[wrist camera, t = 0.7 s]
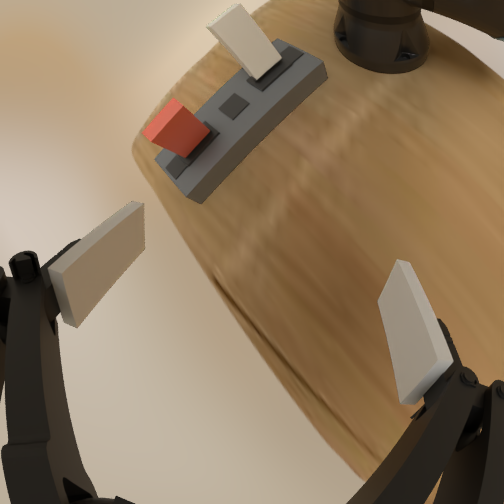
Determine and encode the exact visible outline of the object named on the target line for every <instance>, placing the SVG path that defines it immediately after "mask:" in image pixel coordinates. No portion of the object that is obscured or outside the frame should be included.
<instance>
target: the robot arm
mask: <svg viewBox="0 0 504 504" xmlns="http://www.w3.org/2000/svg"><path fill="white" fill-rule="evenodd" d="M338 1H339V7H338V11H337V15H336V19H335V23H334V36H335V41H336V44H337V47H338V49H339V50H340V51H341V53H342V54H343V55H344V56H345V57H346V58H348V59H349V60H350V61H352V62H353V63H355V64H357V65H359V66H361V67H364V68H366V69H369V70H373V71H377V72H383V73H403V72H408V71H411V70H414V69H416V68H418V67H419V66H421V65H422V64H423V63H424V62H425V60H426V58H427V55H428V50H429V37H428V34H427V31H426V28H425V24H424V21H423V18H422V16H421V9H425V10H428V11H432V12H434V13H437V14H440V15H443V16H445V17H448V18H451V19H453V20H456V21H459V22H461V23H463V24H466V25H468V26H471V27H473V28H475V29H477V30H480V31H482V32H484V33H486V34H488V35H489V36H491V37H492V38H494V39H497V40H501V41H504V0H338ZM144 235H145V234H144V203H140V202H134V201H131V202H130V203H128V204H127V205H126V206H124V207H123V208H121V209H120V210H119V211H117V212H116V213H115V214H113V215H112V216H111V217H109V218H108V219H107V220H105V221H104V222H103V223H101V224H100V225H99V226H98V227H96V228H95V229H94V230H92V231H91V232H90V233H89V234H88V235H86V236H85V237H84V238H82V239H78V240H76V241H73V242H71V243H70V244H68V245H67V246H66V247H65V248H64V249H63V250H61V251H60V252H59V253H58V254H57V255H55V256H54V257H53V258H52V259H50V260H49V261H48V262H47V263H46V264H44V265H43V266H42V267H41V268H40V265H39V261H38V257H37V254H36V253H35V252H33V251H23V252H20V253H18V254H16V255H14V256H13V257H12V258H11V259H10V261H9V266H10V269H11V272H12V275H13V277H6V275H5V272H4V269H3V268H2V267H1V266H0V401H1V395H2V390H3V385H4V381H5V405H6V420H7V431H8V444H6V445H4V446H3V447H2V450H1V458H2V465H3V470H4V476H5V480H6V485H7V490H8V494H9V498H10V502H11V504H135V503H132V502H130V501H127V500H125V499H123V498H120V497H118V496H116V497H115V499H109V498H98V496H97V493H96V491H95V488H94V486H93V484H92V482H91V480H90V478H89V477H88V475H87V473H86V472H85V469H84V467H83V464H82V461H81V457H80V454H79V450H78V447H77V444H76V440H75V435H74V431H73V427H72V423H71V419H70V414H69V409H68V404H67V398H66V393H65V387H64V380H63V374H62V366H61V357H60V348H59V338H58V323H57V320H56V316H57V315H58V314H59V313H60V312H61V315H62V318H63V321H64V323H67V324H69V325H71V326H73V327H75V328H78V327H79V326H80V324H81V323H82V322H83V321H84V319H85V318H86V317H87V316H88V314H89V313H90V312H91V311H92V310H93V308H94V307H95V306H96V305H97V303H98V302H99V301H100V300H101V299H102V297H103V296H104V295H105V294H106V293H107V291H108V290H109V289H110V288H111V287H112V286H113V284H114V283H115V282H116V281H117V280H118V279H119V277H120V276H121V275H122V274H123V273H124V272H125V271H126V270H127V268H128V267H129V266H130V265H131V264H132V263H133V261H135V259H136V258H137V257H138V256H139V255H140V254H141V253H142V252H143V251H144V249H145V236H144ZM377 302H378V305H379V309H380V313H381V317H382V321H383V325H384V329H385V333H386V337H387V342H388V346H389V350H390V355H391V360H392V364H393V369H394V374H395V380H396V385H397V390H398V396H399V402H400V404H414V405H415V404H416V403H417V402H418V401H419V400H420V399H421V398H422V397H424V402H425V404H424V405H423V406H422V407H421V408H420V409H419V410H418V411H417V412H416V413H415V414H414V415H413V416H412V417H410V418H411V419H413V418H414V419H413V420H412V422H411V423H410V425H409V426H408V428H407V429H406V431H405V432H404V434H403V435H402V437H401V438H400V439H399V441H398V442H397V444H396V445H395V446H394V448H393V449H392V450H391V452H390V453H389V454H388V456H387V457H386V458H385V460H384V461H383V462H382V463H381V465H380V466H379V467H378V468H377V470H376V471H375V472H374V473H373V475H372V476H371V477H370V478H369V479H368V480H367V482H366V483H365V484H364V485H363V486H362V487H361V488H360V489H359V491H358V492H357V493H356V494H355V495H354V496H353V497H352V498H351V499H350V500H349V501H348V502H347V504H424V503H425V501H426V500H427V498H428V497H429V495H430V493H431V492H432V490H433V488H434V487H435V485H436V483H437V481H438V480H439V478H440V476H441V474H442V472H443V474H442V478H441V481H440V484H439V487H438V491H437V494H436V497H435V499H434V502H433V504H503V503H504V382H503V381H501V380H495V381H494V382H493V383H492V384H491V385H490V386H489V387H487V386H485V385H482V384H479V381H478V378H477V376H476V375H475V373H474V372H473V371H472V370H471V369H469V368H467V367H463V366H462V363H461V361H460V358H459V355H458V353H457V350H456V348H455V345H454V344H453V341H452V338H451V337H450V333H449V331H448V329H447V327H446V326H445V324H444V323H443V322H442V321H441V319H438V318H436V316H435V314H434V312H433V309H432V307H431V305H430V303H429V301H428V299H427V296H426V294H425V292H424V290H423V288H422V286H421V284H420V282H419V280H418V278H417V276H416V274H415V272H414V270H413V268H412V266H411V264H410V262H407V261H403V260H399V259H397V260H396V262H395V265H394V267H393V269H392V271H391V274H390V276H389V278H388V280H387V282H386V284H385V286H384V289H383V291H382V293H381V295H380V297H379V299H378V301H377ZM480 429H482V431H481V433H480ZM443 470H444V471H443Z"/></svg>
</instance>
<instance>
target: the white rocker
mask: <svg viewBox="0 0 504 504" xmlns="http://www.w3.org/2000/svg"><path fill="white" fill-rule="evenodd" d="M206 28H207V29H208V30H209V31H210V32H211V33H212V34H213V35H214V36H215V37H216V38H217V39H218V40H219V41H220V43H221V44H222V45H223V46H224V47H225V48H226V49H227V50H228V51H229V53H230V54H231V55H232V56H233V57H234V58H235V59H236V60H237V62H238V63H239V64H240V65H241V66H242V67H243V69H244V70H245V71H246V72H247V73H248V75H249V76H250V77H251V78H252V79H253V80H254V81H257V80H258V79H259V78H261V77H262V76H263V75H264V74H265V73H266V72H267V71H268V70H269V69H271V68H272V67H273V66H274V65H275V64H276V63H278V62H279V61H280V60H281V59H282V57H281V56H280V54H279V53H278V52H277V50H276V49H275V47H274V46H273V45H272V43H271V42H270V41H269V39H268V38H267V37H266V35H265V34H264V33H263V31H262V30H261V29H260V27H259V26H258V25H257V23H256V22H255V21H254V20H253V18H252V17H251V16H250V15H249V14H248V12H247V11H246V10H245V9H244V7H243V6H242V5H241V4H234V5H232V6H231V7H230V8H228V9H227V10H226V11H224V12H223V13H222V14H221V15H219V16H218V17H217V18H216V19H214V20H213V21H212V22H211V23H209V24H208V25H207V26H206Z"/></svg>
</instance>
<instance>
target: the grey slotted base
mask: <svg viewBox="0 0 504 504" xmlns="http://www.w3.org/2000/svg"><path fill="white" fill-rule="evenodd" d="M272 45H273V46H274V47H275V49H276V50H277V52H278V53H279V54H280V56H281V57H282V59H281V60H280V61H279V62H278V63H276V64H275V65H274V66H273V67H272V68H271V69H269V70H268V71H267V72H266V73H265V74H264V75H263V76H262V77H261V78H259V79H258V80H257V81H254V80H253V79H252V78H251V77H250V76H249V75H248V73H247V72H246V71H245V70H244V69H243V68H242V69H241V70H239V71H238V72H237V73H236V74H235V75H234V76H233V77H232V78H231V79H230V80H229V81H227V82H226V83H225V84H224V85H223V86H222V87H221V88H220V89H219V90H218V91H217V92H216V93H215V94H214V95H213V96H212V97H211V98H210V99H209V100H208V101H207V102H206V103H205V104H204V105H203V106H202V107H201V108H200V109H199V110H198V111H197V112H196V113H195V114H194V116H195V117H196V118H197V119H198V120H199V121H201V122H202V123H203V124H204V125H206V126H207V127H208V128H209V129H210V132H209V133H208V134H207V135H206V136H205V137H204V138H203V140H202V141H201V142H200V143H199V144H198V145H197V146H196V147H195V148H194V149H193V150H192V151H191V153H190V154H189V155H188V156H187V157H186V158H184V157H182V156H180V155H178V154H176V153H174V152H172V151H170V150H168V149H165V148H163V150H162V151H161V152H160V153H159V154H158V155H157V157H156V158H155V159H154V160H155V161H156V162H157V163H158V164H159V166H160V167H161V168H162V169H163V170H164V172H165V173H166V174H167V175H168V176H169V178H170V179H171V180H172V181H173V182H174V184H175V185H176V186H177V187H178V188H179V189H180V191H181V192H182V193H183V194H184V195H185V197H187V198H189V199H191V200H193V201H196V202H198V203H200V204H202V203H203V202H204V201H205V200H206V198H207V197H208V196H209V195H210V194H211V193H212V192H213V191H214V190H215V189H216V188H217V186H218V185H219V184H220V183H221V182H222V181H223V180H224V179H225V178H226V177H227V176H228V175H229V174H230V173H231V172H232V170H233V169H234V168H235V167H236V166H237V165H238V164H239V163H240V162H241V161H242V160H243V159H244V158H245V157H246V156H247V155H248V154H249V153H250V152H251V151H252V150H253V149H254V148H255V147H256V146H257V145H258V144H259V143H260V142H261V141H262V140H263V139H264V138H265V137H266V136H267V135H268V134H269V133H270V132H271V131H272V130H273V129H274V128H275V127H276V126H277V125H278V124H279V123H280V122H281V121H282V120H283V119H284V118H285V117H286V116H287V115H288V114H289V113H290V112H292V111H293V110H294V109H295V108H296V107H297V106H298V105H299V104H300V103H301V102H302V101H303V100H304V99H305V98H307V97H308V96H309V95H310V94H311V93H312V92H313V91H314V90H315V89H316V88H317V87H319V86H320V85H321V84H322V83H323V82H324V81H325V80H326V79H328V77H327V73H326V69H325V65H324V62H323V61H322V60H320V59H318V58H316V57H315V56H313V55H311V54H309V53H307V52H305V51H303V50H301V49H299V48H297V47H295V46H293V45H291V44H289V43H286V42H284V41H282V40H280V39H278V38H277V39H276V40H275V41H273V42H272Z"/></svg>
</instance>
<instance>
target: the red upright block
mask: <svg viewBox="0 0 504 504" xmlns="http://www.w3.org/2000/svg"><path fill="white" fill-rule="evenodd" d="M209 132H210V129H209V128H208V127H207V126H206V125H204V124H203V123H202V122H201V121H199V120H198V119H197V118H196V117H195V116H194V115H193V114H192V113H191V112H190V111H189V110H187V109H186V108H185V107H184V106H183V105H182V104H181V103H179V102H178V101H177V100H176V99H175V98H172V100H171V101H170V102H169V103H168V104H167V105H166V106H165V107H164V108H163V109H162V110H161V111H160V113H159V114H158V115H157V116H156V117H155V118H154V119H153V121H152V122H151V123H150V124H149V125H148V126H147V127H146V129H145V130H144V131H143V132H142V134H143V135H144V136H145V137H147V138H148V139H149V140H150V141H151V142H152V143H155V144H157V145H159V146H161V147H163V148H165V149H168V150H170V151H172V152H174V153H176V154H178V155H180V156H182V157H184V158H186V157H187V156H188V155H189V154H190V153H191V151H192V150H193V149H194V148H195V147H196V146H197V145H198V144H199V143H200V142H201V141H202V140H203V138H204V137H205V136H206V135H207V134H208V133H209Z"/></svg>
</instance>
